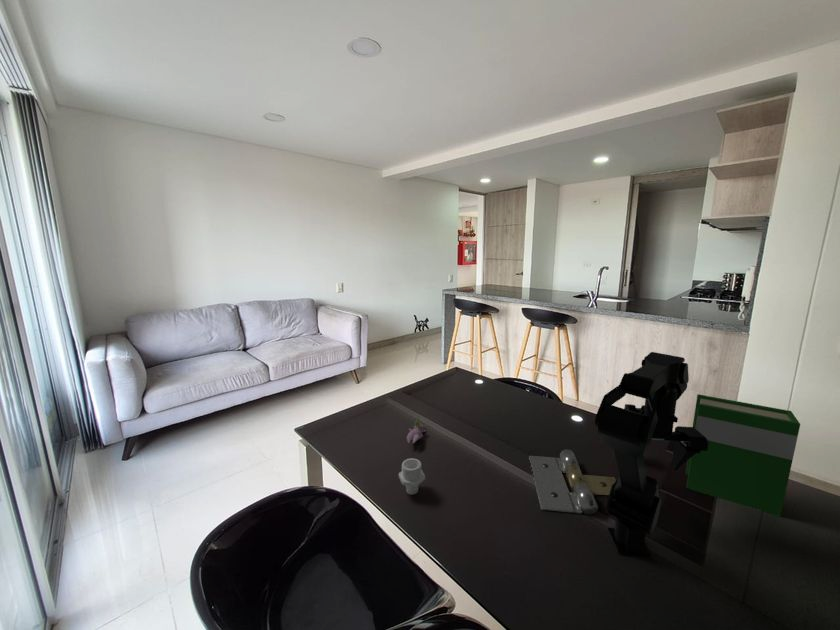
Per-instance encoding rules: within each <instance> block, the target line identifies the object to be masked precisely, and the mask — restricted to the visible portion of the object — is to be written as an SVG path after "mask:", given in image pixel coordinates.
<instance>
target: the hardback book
mask: <svg viewBox="0 0 840 630" xmlns="http://www.w3.org/2000/svg"><path fill="white" fill-rule="evenodd" d="M693 414H694V415H693V421H692V427H694V428H695V429H696V430H698V431H699V432H700V433H701V434H702V435H703V436H705V437H706V438H707V440H708V443H709V444H708V450H707V451H701V450H700V451H701V452H700V453H697V454H695V455H694V456H692V457H691V458H690V459H688V460H687V461H686V468H685V476H687V482H686V489H688V488H689V489H688V490H692V491H695V492H698V493H701V494H704V495H707V494H708V495H707V496H711V497H714V498H718V499H720V498H721V500H724V499H725V500H724V501H727V500H728V501H727V502H730V501H731V503H733V502H734V503H733V504H737V505H740V504H741V506H743V505H744V507H746V506H749V507H748V508H750V507H752V508H751V509H753V508H755V509H754V510H756V509H759V510H758V511H760V510H761V511H760V512H763V511H765V512H764V513H766V512H768V513H767V514H769V513H771V514H770V515H773V514H774V515H773V516H776V515H778V516H777V517H779V516H780V517H781V515H782V510H783V506H784V501H785V496H786V493H787V492H786V491H787V489H788V483H789V478H790V474H791V470H792V464H793V460H794V456H795V455H794V454H795V451H796V446H797V441H798V437H799V432H800V427H801V422H799V420H798V419H797V417H796V416H795V414H794V413H793V411H792V410H788V409H781V408H776V407H771V406H767V405H766V406H764V405H761V404H753V403H748V402H743V401H738V400H733V399H728V398H727V399H726V398H721V397H717V396H716V397H715V396H709V395H704V394H698V393H697V394H696V402H695V409H694V413H693Z"/></svg>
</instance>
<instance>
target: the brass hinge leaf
mask: <svg viewBox="0 0 840 630" xmlns="http://www.w3.org/2000/svg"><path fill="white" fill-rule="evenodd" d="M565 473H566V474H565V475H566V478H567V481H568V483H569V485H570V488H571V490H572V493H574V486H575V485H577V484H579V483H584V484H586V485H588V486H589V488H590V490H591V492H592V494H597V495H609V494H610V490H611V487H612V484H614V483H615V482H616V480H617V479H616V477H614V476H603V475H602V476H600V475H591V474H583V473H582V470H581V468H579V467H578V466H577V465H574V464H571V465H568V466H567V467H566V468H565Z"/></svg>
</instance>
